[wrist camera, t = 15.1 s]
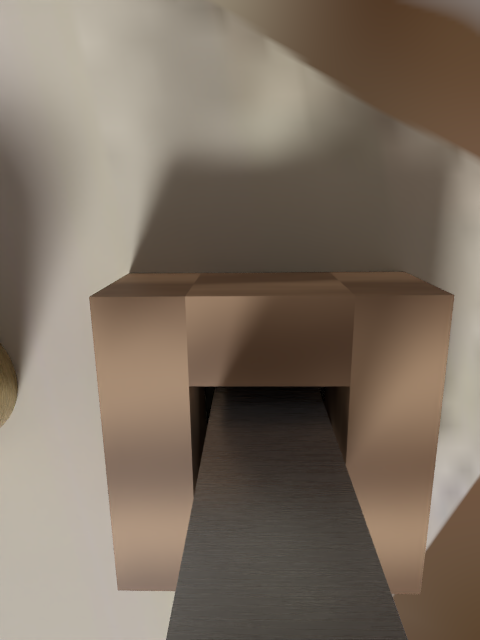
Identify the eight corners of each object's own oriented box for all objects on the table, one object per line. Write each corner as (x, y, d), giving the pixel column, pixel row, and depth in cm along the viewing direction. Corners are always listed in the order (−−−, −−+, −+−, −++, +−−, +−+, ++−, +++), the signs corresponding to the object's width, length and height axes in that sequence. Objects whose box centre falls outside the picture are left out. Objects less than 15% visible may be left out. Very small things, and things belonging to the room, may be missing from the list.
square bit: (220, 358, 21) (162, 654, 7) (307, 358, 21) (413, 657, 7) (222, 436, 22) (175, 823, 8) (305, 437, 22) (394, 828, 8)
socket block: (128, 273, 20) (89, 297, 15) (404, 271, 20) (454, 295, 15) (146, 508, 23) (118, 590, 18) (384, 510, 23) (420, 593, 18)
